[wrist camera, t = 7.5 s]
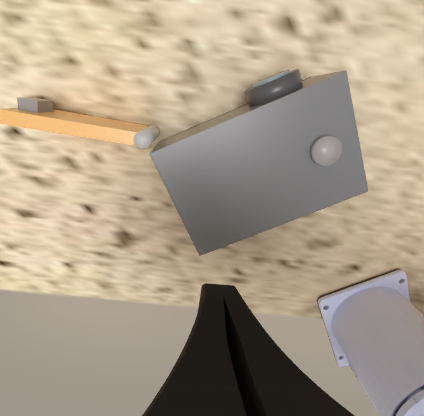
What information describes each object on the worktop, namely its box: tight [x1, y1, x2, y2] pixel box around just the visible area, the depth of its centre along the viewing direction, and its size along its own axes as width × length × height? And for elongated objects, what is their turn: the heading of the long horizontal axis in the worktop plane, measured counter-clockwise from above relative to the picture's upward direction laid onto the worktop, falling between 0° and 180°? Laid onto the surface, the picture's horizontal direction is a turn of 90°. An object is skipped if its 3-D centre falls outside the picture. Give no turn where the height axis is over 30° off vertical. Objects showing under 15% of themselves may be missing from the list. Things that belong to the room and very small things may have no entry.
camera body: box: [150, 69, 368, 256], centre depth 17 cm, size 8×11×5 cm
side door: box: [0, 98, 159, 149], centre depth 16 cm, size 8×1×4 cm, turn 80°
